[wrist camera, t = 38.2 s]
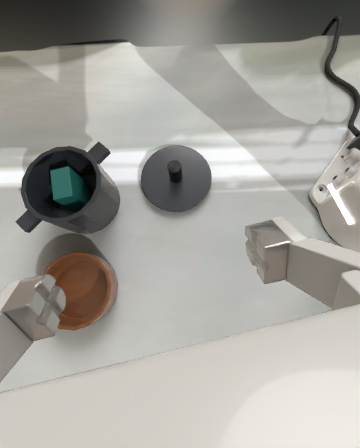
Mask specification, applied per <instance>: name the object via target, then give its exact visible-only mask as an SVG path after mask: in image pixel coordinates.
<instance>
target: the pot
mask: <svg viewBox="0 0 360 448" xmlns="http://www.w3.org/2000/svg"><path fill="white" fill-rule="evenodd" d="M109 154H110V151H109V150H108V149H107V148H106V147H105V146H104V145H102V144H101V143H100V142H98V143H97V144H96V145H95V146H94V147H92V148H91V149H90V150H89V151H88V152H86V151H84V150H81V149H78V148H75V147H71V146H68V147H56V148H53V149H51V150H49V151H47V152H44V153H42V154H41V155H40V156H38V157H37V158H36V159H35V160H34V161H33V162H32V163H31V164H30V165H29V167H28V169H27V171H26V173H25V175H24V177H23V179H22V187H21V195H22V198H23V201H24V204H25V207H26V208H27V209H28V210H27V211H26V212H25V213H24V214H23V215H22V216H21V217H20V218H19V219H18V220H17V221H16V223H17V224H18V225H19V226H20V227H21V228H22V229H23V230H24V231H25V232H28V233H30V232H31V231H32V230H33V229H34V228H35V227H36V226H37V225H38V224H39V223H40V222H41V221H42V220H43V221H46V222H49V223H51V224H54V225H57V226H60V227H63V228H65V229H68V230H71V231H74V232H77V233H83V234H88V233H93V232H97V231H99V230H101V229H103V228H104V227H106V226H107V225H108V224H109V223H110V222H111V221H112V220H113V219H114V217H115V216H116V214H117V211H118V208H119V204H120V196H119V192H118V189H117V187H116V185H115V183H114V182H113V180H112V179H111V178H110V177H109V176H108V174H107V173H106V172H105V171H104V170H103V168H102V167H101V166H100V165H99V164H100V163H101V162H102V161H103V160H104V159H105V158H106V157H107V156H108V155H109ZM68 166H69V167H70V168H71V169H72V170H73V171H75V172H76V173H77V174H78V175H79V176H80V177H81V178H83V179H84V180H85V181H86V182H87V183H88V184H89V185H90V186H92V187H93V191H94V193H93V195H92V198H91V200H90V201H89V202H88V203H87V204H86V205H85V206H84V207H83V208H82V209H81V210H80V211H79V212H75V211H73V210H71V209H69V208H67V207H65V206H64V205H62V204H60V203H58V202H56V201H54V200H53V191H52V182H51V174H50V171H51V170H55V169H59V168H64V167H68Z"/></svg>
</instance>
